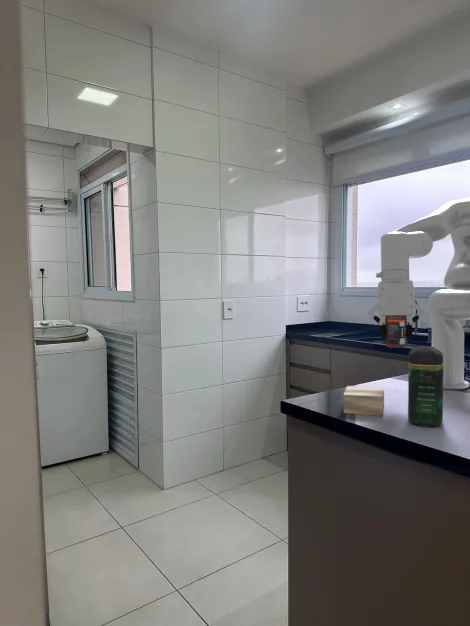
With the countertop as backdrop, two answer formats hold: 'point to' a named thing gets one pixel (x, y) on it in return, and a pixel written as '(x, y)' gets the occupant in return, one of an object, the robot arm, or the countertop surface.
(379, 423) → the countertop surface
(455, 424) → the countertop surface
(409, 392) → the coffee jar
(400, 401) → the countertop surface
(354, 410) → the beech block
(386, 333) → the supplement bottle
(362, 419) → the countertop surface
